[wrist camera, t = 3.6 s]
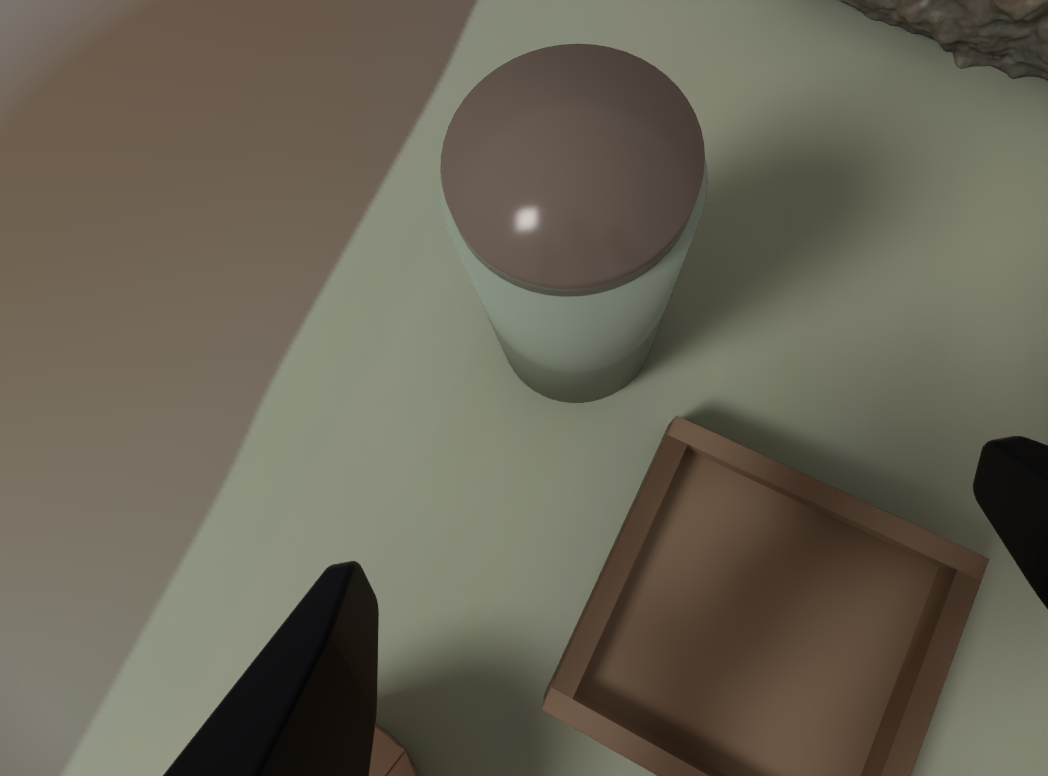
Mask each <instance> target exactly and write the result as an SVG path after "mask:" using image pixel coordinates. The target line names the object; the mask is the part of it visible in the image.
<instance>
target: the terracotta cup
mask: <svg viewBox="0 0 1048 776" xmlns="http://www.w3.org/2000/svg"><path fill="white" fill-rule="evenodd" d="M369 776H418V775H417V772H416V770H415V768H414V766H413V764H412V762H411V760H410V758H409V757H408V755H407V752H405V749H403V748H402V747H401V745H400V744H399V743H398V742H397V740H395V739H394V738H393V737H392V736H391V735H390V734H389V733H388V732H387V731H385V730H384V729H382V728H381V727H379V726H378V725H376V724H375V732H374V739H373V747H372V755H371V763H370V771H369Z"/></svg>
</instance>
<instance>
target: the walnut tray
mask: <svg viewBox="0 0 1048 776" xmlns="http://www.w3.org/2000/svg"><path fill="white" fill-rule="evenodd" d="M988 560H989V559H988V558H986V557H984V556H982V555H980V554H977V553H975V552H973V551H971V550H969V549H967V548H964V547H962V546H960V545H958V544H956V543H953V542H951V541H949V540H947V539H945V538H943V537H940V536H938V535H936V534H934V533H932V532H929V531H927V530H925V529H923V528H921V527H919V526H916V525H914V524H912V523H910V522H908V521H905V520H903V519H901V518H899V517H897V516H895V515H892V514H890V513H888V512H886V511H884V510H881V509H879V508H877V507H875V506H873V505H871V504H868V503H866V502H864V501H862V500H860V499H857V498H855V497H853V496H851V495H849V494H847V493H844V492H842V491H840V490H838V489H836V488H833V487H831V486H829V485H827V484H825V483H823V482H820V481H818V480H816V479H814V478H812V477H809V476H807V475H805V474H803V473H801V472H799V471H796V470H794V469H792V468H790V467H788V466H785V465H783V464H781V463H779V462H777V461H775V460H772V459H770V458H768V457H766V456H764V455H761V454H759V453H757V452H755V451H753V450H751V449H748V448H746V447H744V446H742V445H740V444H737V443H735V442H733V441H731V440H729V439H727V438H724V437H722V436H720V435H718V434H716V433H713V432H711V431H709V430H707V429H705V428H703V427H700V426H698V425H696V424H694V423H692V422H689V421H687V420H685V419H683V418H681V417H679V416H676V417H675V418H674V419H673V420H672V421H671V423H670V424H669V425H668V428H667V430H666V432H665V434H664V436H663V438H662V441H661V443H660V445H659V447H658V449H657V451H656V454H655V456H654V458H653V460H652V462H651V465H650V467H649V469H648V471H647V473H646V475H645V478H644V480H643V482H642V484H641V486H640V488H639V491H638V493H637V495H636V497H635V499H634V501H633V504H632V506H631V508H630V510H629V512H628V514H627V517H626V519H625V521H624V523H623V525H622V527H621V530H620V532H619V534H618V536H617V538H616V540H615V543H614V545H613V547H612V549H611V551H610V553H609V556H608V558H607V560H606V562H605V564H604V566H603V569H602V571H601V573H600V575H599V577H598V580H597V582H596V584H595V586H594V588H593V590H592V593H591V595H590V597H589V599H588V601H587V603H586V606H585V608H584V610H583V612H582V614H581V616H580V619H579V621H578V623H577V625H576V627H575V629H574V632H573V634H572V636H571V638H570V640H569V642H568V645H567V647H566V649H565V651H564V653H563V655H562V658H561V660H560V662H559V664H558V666H557V668H556V671H555V673H554V675H553V677H552V679H551V681H550V684H549V686H548V688H547V690H546V692H545V695H544V700H543V704H542V709H541V710H543V711H545V712H547V713H548V714H550V715H552V716H554V717H555V718H557V719H559V720H561V721H562V722H564V723H566V724H568V725H569V726H571V727H573V728H575V729H576V730H578V731H580V732H582V733H584V734H585V735H587V736H589V737H591V738H592V739H594V740H596V741H598V742H599V743H601V744H603V745H605V746H606V747H608V748H610V749H612V750H613V751H615V752H617V753H619V754H620V755H622V756H624V757H626V758H627V759H629V760H631V761H633V762H634V763H636V764H638V765H640V766H642V767H643V768H645V769H647V770H649V771H650V772H652V773H654V774H656V775H657V776H911V773H912V770H913V767H914V764H915V762H916V759H917V756H918V753H919V751H920V748H921V745H922V742H923V740H924V737H925V734H926V731H927V729H928V726H929V723H930V720H931V718H932V715H933V712H934V709H935V707H936V704H937V701H938V698H939V696H940V693H941V690H942V687H943V685H944V682H945V679H946V676H947V674H948V671H949V668H950V665H951V662H952V660H953V657H954V654H955V651H956V649H957V646H958V643H959V640H960V638H961V635H962V632H963V629H964V627H965V624H966V621H967V618H968V616H969V613H970V610H971V607H972V605H973V602H974V599H975V596H976V594H977V591H978V588H979V585H980V583H981V580H982V577H983V574H984V572H985V569H986V566H987V563H988Z"/></svg>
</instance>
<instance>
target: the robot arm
mask: <svg viewBox="0 0 1048 776" xmlns="http://www.w3.org/2000/svg"><path fill="white" fill-rule="evenodd" d="M973 491H974V495H975V498H976V500H977V502H978V504H979V505H980V507H981V509H982V510H983V512H984V513H985V515H986V516H987V518H988V520H989V521H990V523H991V524H992V526H993V527H994V529H995V531H996V532H997V534H998V535H999V537H1000V538H1001V540H1002V542H1003V543H1004V545H1005V546H1006V548H1007V549H1008V551H1009V552H1010V554H1011V556H1012V557H1013V559H1014V560H1015V562H1016V563H1017V565H1018V567H1019V568H1020V570H1021V571H1022V573H1023V574H1024V576H1025V578H1026V579H1027V581H1028V582H1029V584H1030V585H1031V587H1032V588H1033V590H1034V591H1035V592H1036V594H1037V595H1038V597H1039V598H1040V600H1041V601H1042V602H1043V604H1044V605H1045V606H1046V608H1047V609H1048V445H1045V444H1042V443H1039V442H1037V441H1034V440H1031V439H1028V438H1025V437H1022V436H1011V437H1006V438H1001V439H995V440H991V441H988V442H987V443H986V444H985V445H984V446H983V448H982V451H981V455H980V459H979V463H978V467H977V471H976V474H975V478H974V483H973ZM378 616H379V612H378V603H377V599H376V596H375V593H374V591H373V589H372V587H371V585H370V583H369V581H368V579H367V577H366V575H365V573H364V571H363V569H362V567H361V566H360V564H359V563H358V562H356V561H350V562H345V563H339V564H334V565H331V566H329V567H328V568H327V569H326V570H325V571H324V572H323V573H322V575H321V576H320V577H319V578H318V580H317V581H316V582H315V584H314V585H313V586H312V587H311V589H310V590H309V591H308V592H307V594H306V595H305V596H304V598H303V599H302V600H301V601H300V603H299V604H298V605H297V606H296V608H295V609H294V610H293V611H292V613H291V614H290V615H289V617H288V618H287V619H286V620H285V622H284V623H283V624H282V625H281V627H280V628H279V629H278V630H277V632H276V633H275V634H274V636H273V637H272V638H271V639H270V641H269V642H268V643H267V644H266V646H265V647H264V648H263V649H262V651H261V652H260V653H259V655H258V656H257V657H256V658H255V660H254V661H253V662H252V663H251V665H250V666H249V667H248V668H247V670H246V671H245V672H244V674H243V675H242V676H241V677H240V679H239V680H238V681H237V682H236V684H235V685H234V686H233V688H232V689H231V690H230V691H229V693H228V694H227V695H226V696H225V698H224V699H223V700H222V701H221V703H220V704H219V705H218V707H217V708H216V709H215V710H214V712H213V713H212V714H211V715H210V717H209V718H208V719H207V720H206V722H205V723H204V724H203V726H202V727H201V728H200V729H199V731H198V732H197V733H196V734H195V736H194V737H193V738H192V739H191V741H190V742H189V743H188V745H187V746H186V747H185V748H184V750H183V751H182V752H181V753H180V755H179V756H178V757H177V758H176V760H175V761H174V762H173V764H172V765H171V766H170V767H169V769H168V770H167V771H166V772H165V774H164V775H163V776H369V771H370V763H371V755H372V747H373V739H374V732H375V722H376V709H377V670H378Z"/></svg>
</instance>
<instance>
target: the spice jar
mask: <svg viewBox="0 0 1048 776" xmlns="http://www.w3.org/2000/svg"><path fill="white" fill-rule="evenodd" d="M706 193H707V165H706V161H705V153H704V142H703V137H702V132H701V128H700V125H699V122H698V120H697V117H696V114H695V112H694V110H693V109H692V107H691V105H690V103H689V101H688V100H687V98H686V97H685V96H684V94H683V93H682V92H681V90H680V89H679V88H678V87H677V86H676V85H675V84H674V83H673V82H672V81H671V80H670V79H669V78H668V77H667V76H666V75H665V74H664V73H662V72H661V71H660V70H658V69H657V68H656V67H655V66H653V65H651V64H649V63H648V62H646V61H644V60H643V59H641V58H639V57H636V56H634V55H632V54H629V53H627V52H624V51H621V50H617V49H614V48H610V47H604V46H598V45H589V44H568V45H558V46H552V47H546V48H542V49H539V50H535V51H532V52H529V53H526V54H524V55H521V56H519V57H517V58H514V59H512V60H510V61H509V62H507V63H505V64H503V65H502V66H500V67H498V68H497V69H496V70H494V71H493V72H491V73H490V74H489V75H487V76H486V77H485V78H484V79H483V80H482V81H480V82H479V83H478V84H477V85H476V86H475V87H474V88H473V89H472V90H471V92H470V93H469V94H468V95H467V96H466V98H465V99H464V100H463V102H462V103H461V105H460V106H459V108H458V109H457V111H456V112H455V114H454V116H453V118H452V121H451V123H450V125H449V127H448V130H447V133H446V136H445V139H444V143H443V148H442V154H441V176H440V201H441V209H442V213H443V217H444V221H445V225H446V227H447V229H448V232H449V234H450V237H451V239H452V241H453V243H454V246H455V248H456V250H457V252H458V254H459V256H460V258H461V261H462V263H463V265H464V267H465V269H466V271H467V274H468V276H469V278H470V280H471V282H472V284H473V287H474V289H475V291H476V293H477V295H478V297H479V299H480V302H481V304H482V306H483V308H484V310H485V312H486V315H487V317H488V319H489V321H490V323H491V325H492V328H493V330H494V332H495V334H496V336H497V338H498V340H499V343H500V345H501V347H502V349H503V351H504V353H505V356H506V358H507V360H508V362H509V364H510V366H511V367H512V369H513V371H514V372H515V373H516V374H517V376H518V377H519V378H520V379H521V380H522V381H523V382H524V383H525V384H526V385H527V386H528V387H530V388H531V389H533V390H534V391H536V392H537V393H539V394H541V395H543V396H545V397H548V398H550V399H553V400H557V401H561V402H569V403H584V402H591V401H595V400H599V399H602V398H605V397H607V396H610V395H612V394H614V393H615V392H617V391H619V390H620V389H622V388H623V387H624V386H625V385H627V384H628V383H629V382H630V381H631V380H632V379H633V378H634V377H635V376H636V375H637V373H638V372H639V371H640V369H641V368H642V366H643V364H644V362H645V361H646V358H647V356H648V353H649V351H650V348H651V346H652V343H653V340H654V338H655V335H656V333H657V330H658V327H659V325H660V322H661V320H662V317H663V314H664V312H665V309H666V307H667V304H668V301H669V299H670V296H671V294H672V291H673V289H674V286H675V283H676V281H677V278H678V276H679V273H680V270H681V268H682V265H683V263H684V260H685V257H686V255H687V252H688V250H689V247H690V244H691V242H692V239H693V237H694V234H695V231H696V229H697V226H698V224H699V221H700V219H701V216H702V213H703V209H704V205H705V200H706Z"/></svg>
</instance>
